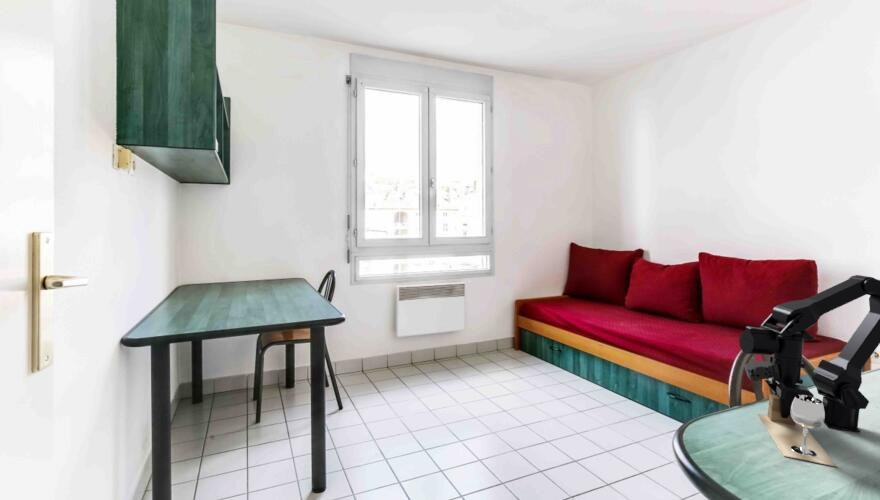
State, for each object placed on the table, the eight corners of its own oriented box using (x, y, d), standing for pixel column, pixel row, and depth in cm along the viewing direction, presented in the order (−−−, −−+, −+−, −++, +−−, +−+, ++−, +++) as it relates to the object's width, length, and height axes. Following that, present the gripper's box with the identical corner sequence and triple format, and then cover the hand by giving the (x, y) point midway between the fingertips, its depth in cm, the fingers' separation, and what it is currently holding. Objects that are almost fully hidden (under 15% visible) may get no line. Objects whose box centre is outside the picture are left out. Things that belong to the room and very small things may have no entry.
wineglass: (827, 460, 92) (832, 406, 91) (796, 456, 94) (801, 403, 93) (810, 446, 98) (815, 395, 97) (781, 443, 99) (786, 392, 98)
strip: (800, 422, 110) (802, 398, 110) (837, 467, 90) (840, 438, 90) (757, 414, 114) (759, 391, 113) (784, 456, 94) (786, 428, 93)
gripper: (740, 341, 121) (735, 395, 122) (758, 361, 104) (753, 424, 105) (789, 347, 116) (784, 403, 118) (817, 369, 99) (811, 434, 100)
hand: (781, 415), depth 110 cm, fingers closed on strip, 3 cm apart
